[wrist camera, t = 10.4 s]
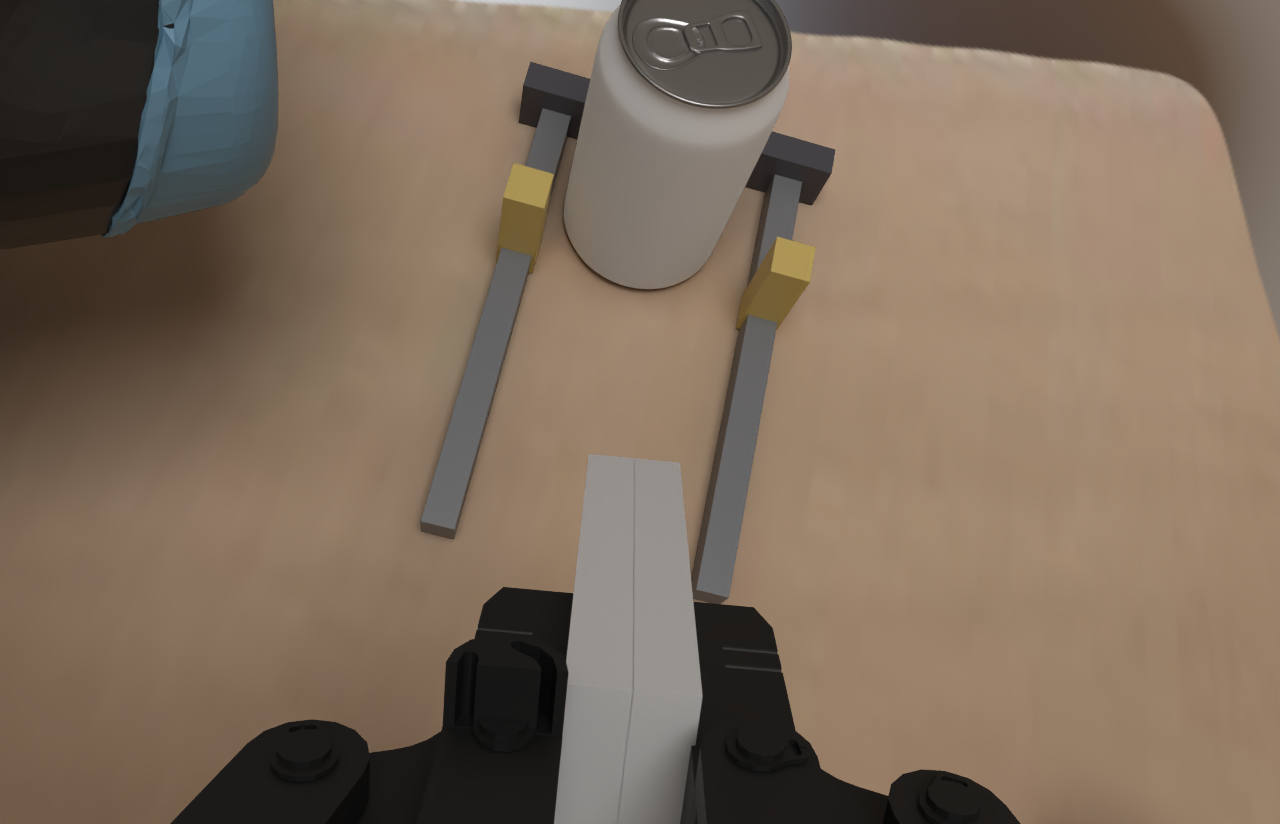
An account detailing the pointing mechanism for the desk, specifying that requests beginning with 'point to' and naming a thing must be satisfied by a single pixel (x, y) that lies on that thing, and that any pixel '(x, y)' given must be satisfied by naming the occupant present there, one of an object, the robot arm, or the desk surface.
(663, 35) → the can
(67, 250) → the desk surface
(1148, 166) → the desk surface
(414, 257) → the desk surface
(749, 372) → the u-shaped rail frame
